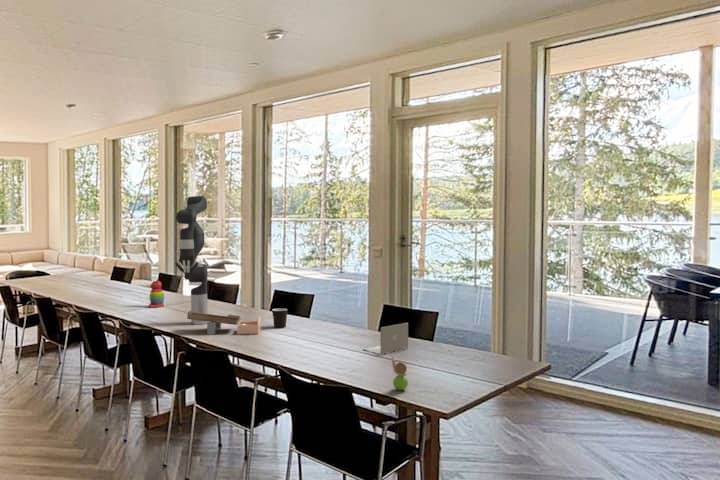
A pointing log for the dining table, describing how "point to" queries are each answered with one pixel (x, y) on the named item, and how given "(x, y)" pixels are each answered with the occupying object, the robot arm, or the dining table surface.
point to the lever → (214, 318)
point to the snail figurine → (400, 375)
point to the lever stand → (212, 327)
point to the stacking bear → (156, 295)
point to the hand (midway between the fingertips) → (187, 279)
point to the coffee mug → (279, 317)
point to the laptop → (392, 339)
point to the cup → (249, 327)
